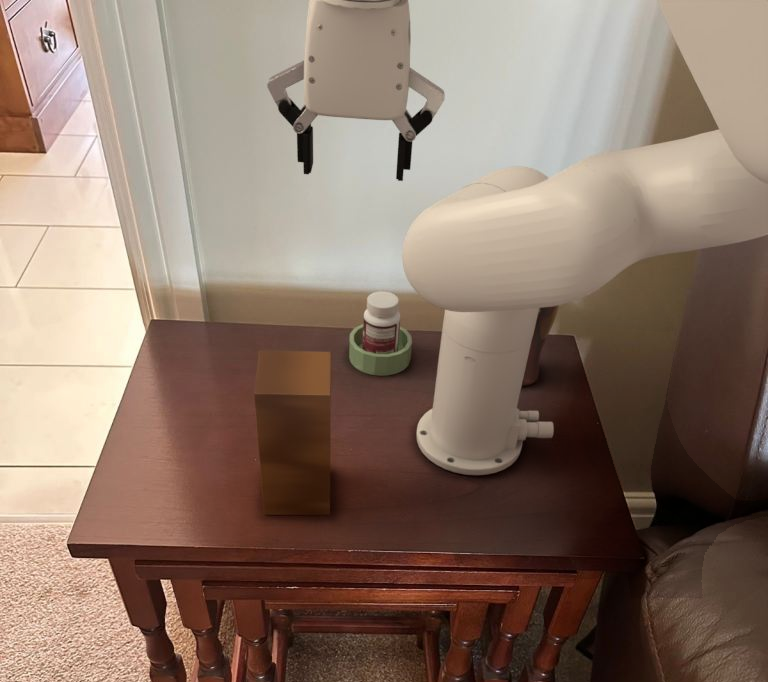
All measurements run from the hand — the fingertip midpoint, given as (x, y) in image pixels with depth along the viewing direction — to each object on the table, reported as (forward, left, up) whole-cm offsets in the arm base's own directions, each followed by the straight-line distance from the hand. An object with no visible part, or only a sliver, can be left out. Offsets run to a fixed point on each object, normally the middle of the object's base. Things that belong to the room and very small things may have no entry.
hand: (354, 172), depth 82 cm
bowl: (-4, -5, -26) cm, 27 cm away
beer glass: (-22, -2, -27) cm, 35 cm away
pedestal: (+6, +21, -26) cm, 34 cm away
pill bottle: (-4, -5, -26) cm, 27 cm away
